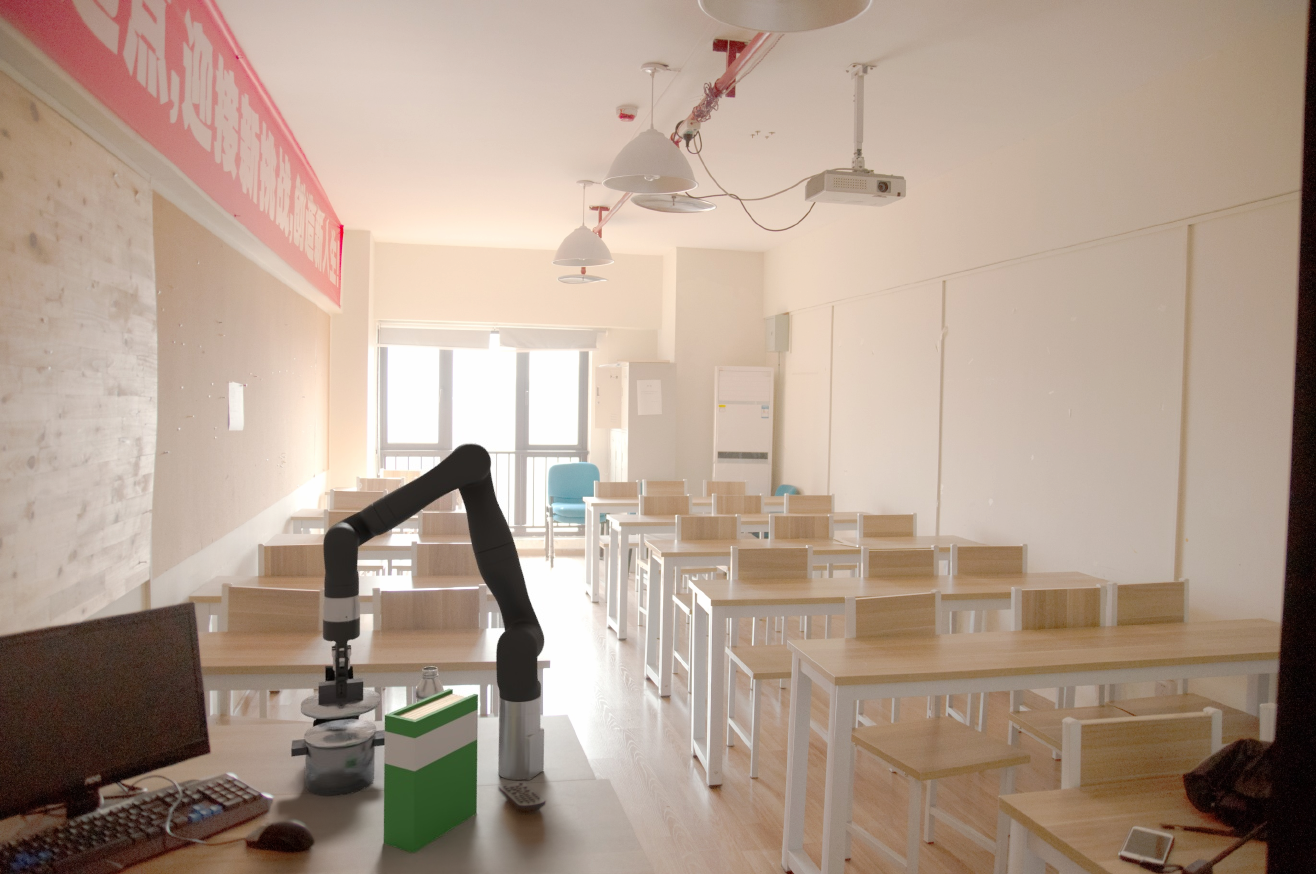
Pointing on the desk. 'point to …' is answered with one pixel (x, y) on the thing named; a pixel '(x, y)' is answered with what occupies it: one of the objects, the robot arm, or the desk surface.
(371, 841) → the desk surface
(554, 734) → the desk surface
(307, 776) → the pot
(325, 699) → the lid
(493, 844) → the desk surface
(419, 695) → the plastic bottle
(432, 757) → the hardback book
